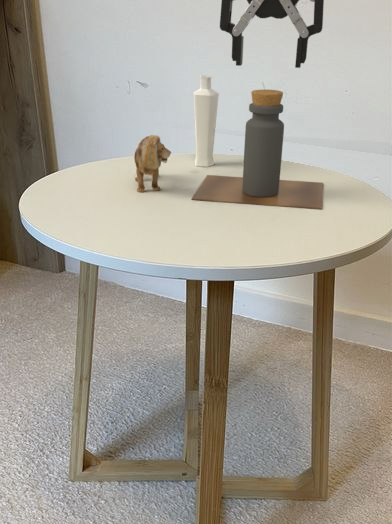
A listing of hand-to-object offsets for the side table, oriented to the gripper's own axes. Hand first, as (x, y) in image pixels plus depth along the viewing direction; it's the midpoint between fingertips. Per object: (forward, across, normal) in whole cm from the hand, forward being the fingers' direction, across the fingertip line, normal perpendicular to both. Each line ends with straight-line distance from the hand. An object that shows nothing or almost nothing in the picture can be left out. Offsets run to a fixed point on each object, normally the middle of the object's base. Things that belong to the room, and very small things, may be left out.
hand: (268, 66), depth 87 cm
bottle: (+19, 0, 0) cm, 19 cm away
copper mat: (+19, 0, +1) cm, 19 cm away
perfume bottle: (+19, -12, +16) cm, 27 cm away
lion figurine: (+19, -18, 0) cm, 26 cm away
